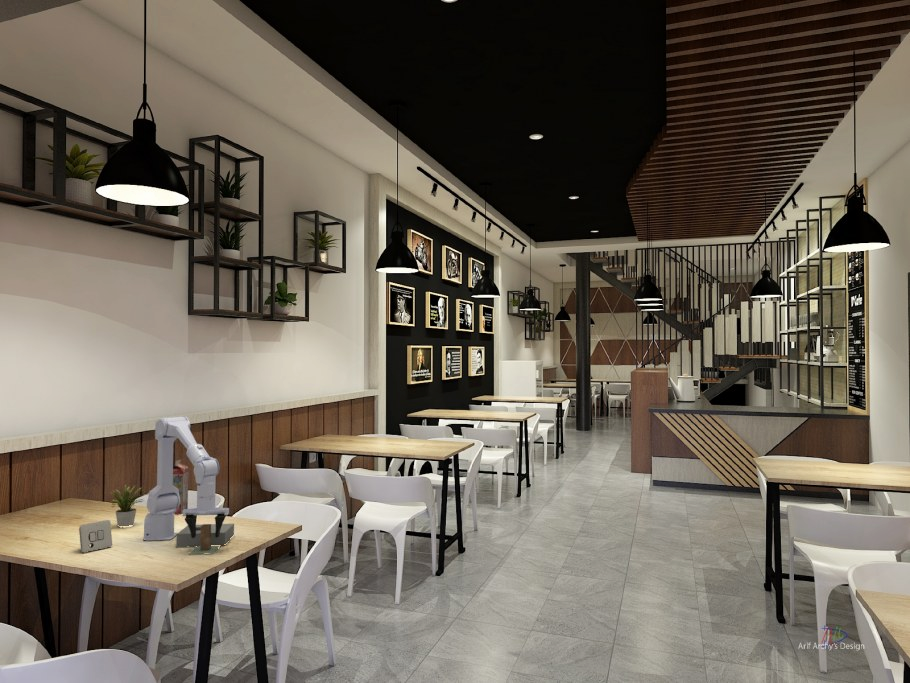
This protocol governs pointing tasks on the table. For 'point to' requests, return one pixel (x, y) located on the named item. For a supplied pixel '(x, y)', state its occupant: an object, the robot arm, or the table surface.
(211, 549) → the mat
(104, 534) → the electrical switch
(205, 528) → the wooden peg
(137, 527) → the table surface
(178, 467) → the juice carton
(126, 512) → the house plant
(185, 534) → the panel
